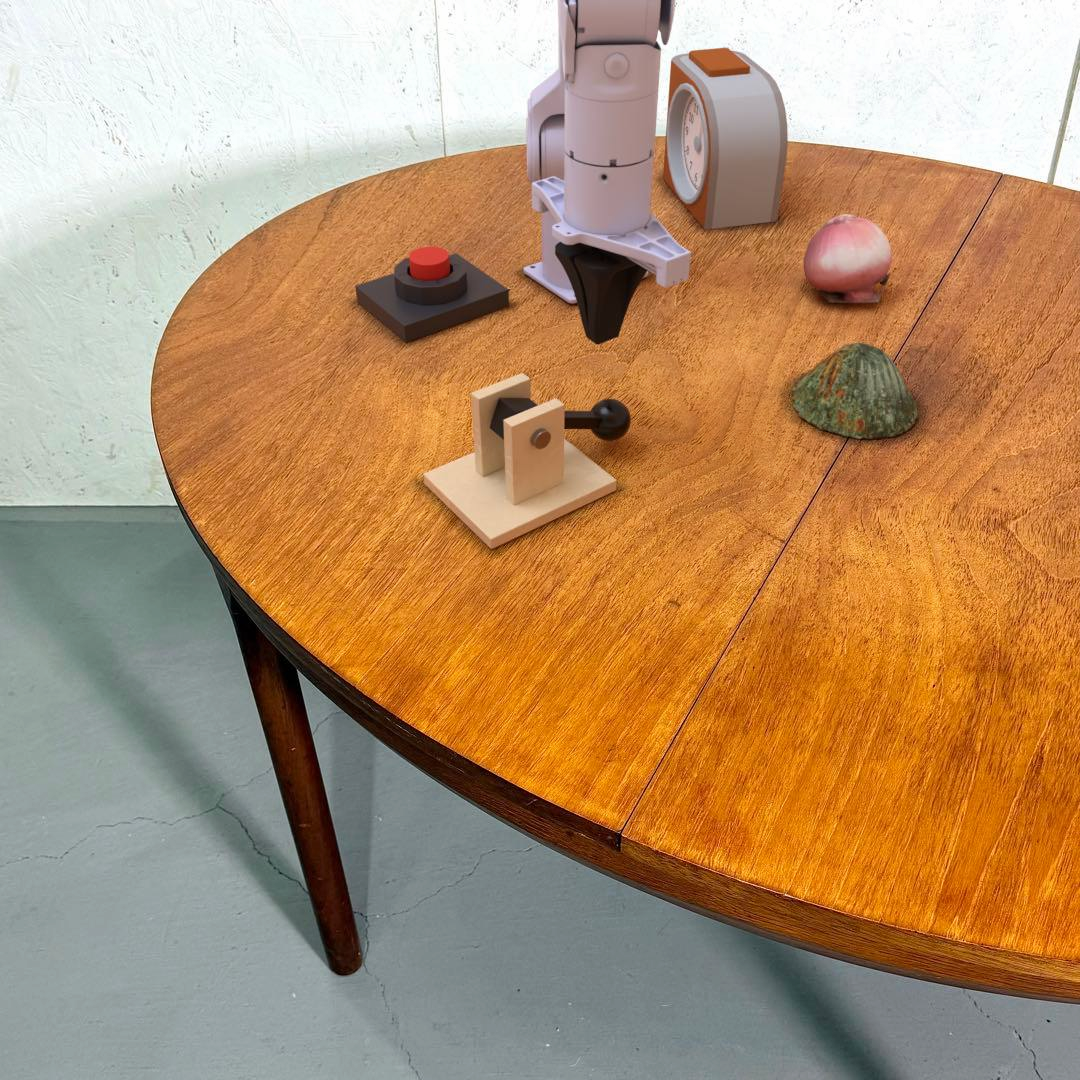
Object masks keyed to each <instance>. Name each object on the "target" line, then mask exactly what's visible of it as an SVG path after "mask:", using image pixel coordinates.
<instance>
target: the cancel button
mask: <svg viewBox="0 0 1080 1080" xmlns="http://www.w3.org/2000/svg"><path fill="white" fill-rule="evenodd" d="M449 255H450V253H449V252H448V251H447V250H446V249H444V248H443V247H439V246H423V247H418V248H416V249H414V250H412V251H411V252H410V253H409V255H408V257H409V264H410V274H411V277H412V278H413V279H418V280H422V281H433V280H439V279H442V278H445V277H448V276H449V275H450V261H449Z"/></svg>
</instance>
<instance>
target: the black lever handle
mask: <svg viewBox="0 0 1080 1080" xmlns="http://www.w3.org/2000/svg"><path fill="white" fill-rule="evenodd" d="M538 405H539V404H537V403H536V402H535V401H534V400H532V398H531V399H529V398H499V399H498V402H497V405H496V408H495V411H494V414H493V418H492V421H491V424H490V427H489V428H490V429H491V430H492V431H494V432H495V433H496V434H497V435H498V436H499V437H501V438H502V439H503V440H504V421H503V420H504V419H507V418H509V417H512V416H514V415H516V414H519V413H521V412H524V411H526V410H528V409H531V408H533V407H536V406H538ZM631 423H632V416H631V412H630V410H629V408H628V407H627V406H626V405H625V403H624V402H622V401H621V400H618V399H616V398H604V399H601V400H599V401H597V402H596V403H595V404H594V405H593V406H592V407H591V409H590V410H564V430H590V431H591V433H592V434H593V436H595V437H596V438H597V439H599V440H601V441H604V442H615V441H619V440H620V439H622V438H623V437H625V435H626V434H627V433H628V432H629V430H630V427H631Z"/></svg>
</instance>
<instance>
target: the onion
mask: <svg viewBox="0 0 1080 1080" xmlns="http://www.w3.org/2000/svg"><path fill="white" fill-rule="evenodd" d="M892 261H893V252H892V247H891V244H890V242H889V240H888V238H887V236H886V234H885V233H884V231H883V230H882V229H881V228H880V227H879V226H878V225H877V224H876V223H874V222H873V221H871V220H869V219H866V218H865V217H864V218H863V217H858V216H857V215H854V214H849V213H843V214H840V215H837V216H834V217H832V218H830V219H829V220H828V221H826V222H825V223H824V224H823V225H822V227H821V228H820V229H818V230H817V231H816V232H815V233H814V234H813V236H812V237H811V238H810V239H809V242H808V244H807V246H806V250H805V253H804V259H803V272H804V276H805V278H806V280H807V281H808V283H809V284H810V285H811V286H812V287H813V288H814V289H816V290H817V292H818V293H819V294H820V295H821V296H822V297H823V298H824V299H825V300H827V301H828V302H829V303H833V304H834V303H835V304H838V303H839V304H878V303H879V301H880V299H881V297H882V294H883V292H884V287H885V286H886V284H887V283H888V281H889V279H890V277H891V274H892V273H891V272H889V271H890V268H891V265H892ZM878 284H879V285H880V286H881V290H880V291H874V288H875V287H876V285H878Z"/></svg>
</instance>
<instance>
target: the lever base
mask: <svg viewBox="0 0 1080 1080" xmlns="http://www.w3.org/2000/svg"><path fill="white" fill-rule="evenodd" d="M531 387H532V386H531V378H530V377H529V376H528V375H527V374H525V373H524V372H521V373H518V374H516V375H513V376H510V377H507V378H506V379H503V380H500V381H498V382H496V383H493V384H490V385H488V386H485V387H482V388H480V389H478V390H475V391H473V392H471V394H470V396H471V413H472V431H473V447H474V449H473V450H474V451H473V452H471V453H469V454H466V455H464V456H461V457H459V458H457V459H454V460H452V461H450V462H447V463H445V464H442V465H440V466H437V467H436V468H433V469H430V470H428V471H426V472H424V473H423V475H422V476H423V485H424V486H426V487H427V488H428V489H429V490H430V491H431V492H432V493H433V494H434V495H435V497H437V498H438V499H439V500H440V501H441V502H442V503H443V504H444V505H445V506H447V508H448V509H450V511H451V512H452V513H453V514H454V515H455V516H456V517H458V518H459V520H461V522H463V524H465V525H466V526H467V527H468V528H469V529H470V530H471V531H472V532H473V533H474V534H475V535H476V536H477V538H479V539H480V540H481V541H482V542H483V543H484V544H485V545H486V546H487V547H488V548H489V549H490V550H493V549H495V548H498V547H500V546H502V545H504V544H506V543H508V542H510V541H512V540H514V539H516V538H518V537H521V536H523V535H525V534H527V533H529V532H532V531H534V530H536V529H537V528H538V529H539V528H540V527H542V526H544V525H546V524H548V523H551V522H552V521H554V520H556V519H559V518H560V517H563V516H565V515H567V514H569V513H571V512H573V511H576V510H578V509H579V508H582V507H584V506H586V505H588V504H590V503H593V502H595V501H597V500H598V499H601V498H603V497H605V496H607V495H610V494H611V493H614V492H615V491H617V479H616V478H615V477H613V476H612V475H611V474H609V473H608V472H607V471H606V470H604V468H602V467H601V466H600V465H598V464H597V463H596V462H595V461H593V460H592V459H591V458H589V456H587V455H586V454H585V453H584V452H582V451H581V450H580V449H578V448H577V447H576V446H575V445H574V444H573V443H571V442H570V441H568V440H567V439H566V438H565V429H564V411H565V410H566V409H565V406H566V405H565V403H563V402H562V401H561V400H559V399H558V398H557V397H555V398H553V399H550V400H548V401H546V402H543V403H540V404H537V405H538V406H536V407H533V408H531V409H528V410H526V411H524V412H521V413H519V414H516V415H514V416H512V417H509V418H507V419H504V420H503V421H504V440H503V439H502V438H501V437H499V436H498V435H497V434H496V433H495V432H494V431H492V430H491V429H490V428H489V427H490V424H491V421H492V418H493V414H494V411H495V408H496V405H497V402H498V399H499V398H529V399H531V400H532V394H531V393H532V392H531V391H532V390H531Z"/></svg>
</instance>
